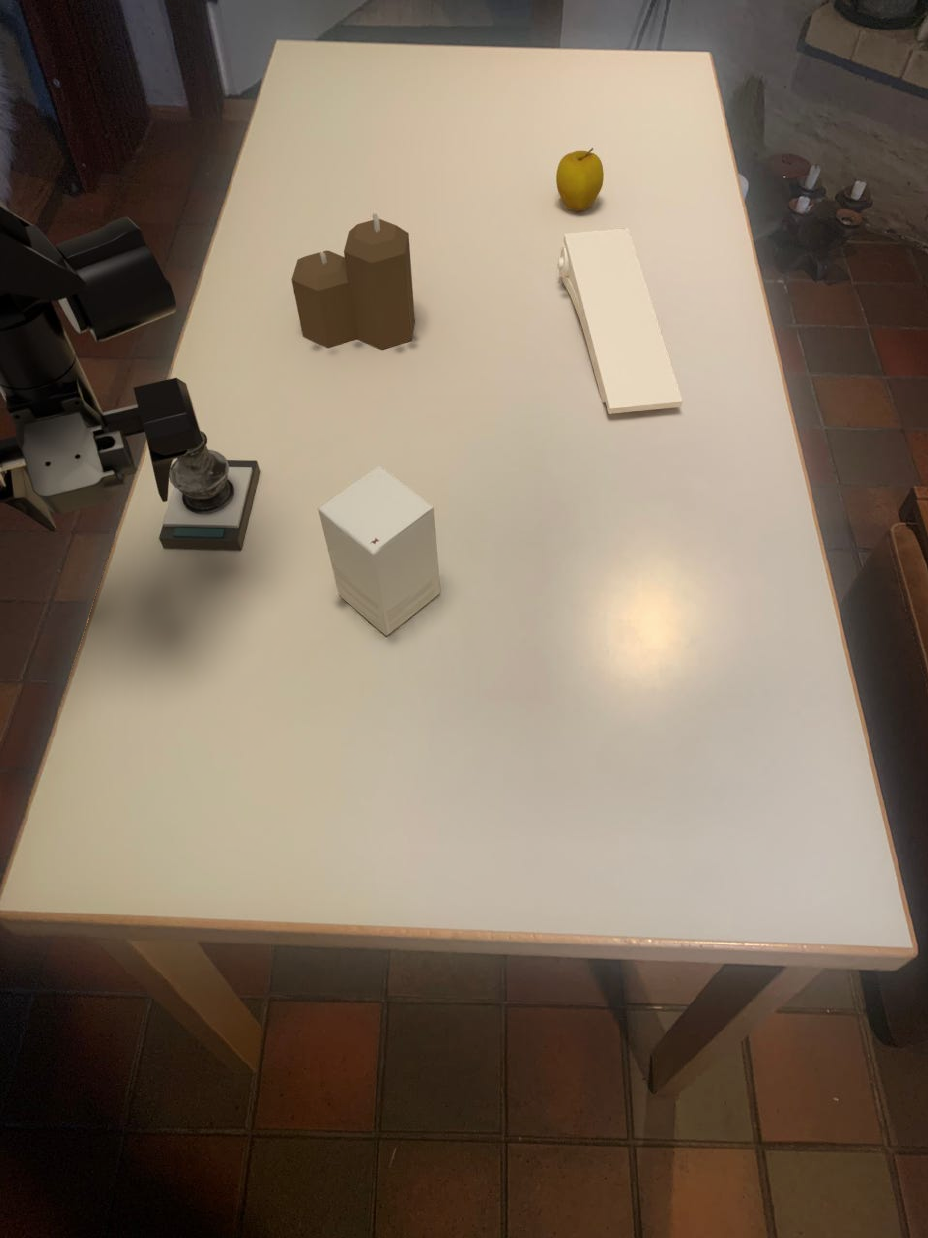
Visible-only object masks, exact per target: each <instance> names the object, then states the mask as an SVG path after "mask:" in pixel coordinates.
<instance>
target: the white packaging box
mask: <svg viewBox="0 0 928 1238" xmlns="http://www.w3.org/2000/svg"><path fill="white" fill-rule="evenodd" d="M317 510H318V515H319V520H320V523H321V527H322V532H323V535H324V539H325V544H326V548H327V552H328V556H329V561H330V564H331V568H332V572H333V577H334V581H335V584H336V585H335V586H336V590H337V594H338V595H339V596H340V597H341V598H342V599H343V600H344V601H345V602H346V603H348V604H349V605H350V606H351V607H352V608H353V609H354V610H355V611H357V612H358V613H359V614H360V615H361V616H362V617H363V618H364V619H366V620H367V621H368V622H369V623H370V624H371V625H373V626H374V627H375V628H376V629H377V630H378V631H379V632H381V633H382V634H383V635H384V636H386V637H388V636H389V635H390V634H392V632H394V631H395V630H397V629H398V628H399V627H400V626H401V625H402V624H404V623H405V622H407V620H409V619H410V618H412V617H413V616H414V615H415V614H417V613H418V612H419V611H420V610H421V609H423V608H424V607H425V606H426V605H428V604H429V603H430V602H431V601H433V600H434V599H435V598H436V597H437V596H438V595H440V593H441V585H440V572H439V571H440V570H439V560H438V559H439V558H438V546H437V545H438V544H437V533H436V532H437V531H436V520H435V517H436V516H435V506H434V505H433V504H431V503H430V502H429V501H428V500H426V499H425V498H424V497H422V496H420V495H419V494H418V493H416V492H415V491H414V490H412V488H410V487H409V486H407V485H406V484H405V483H403V482H402V481H401V480H400V479H398V478H397V477H395V476H394V475H393V474H392V473H391V472H389V471H388V470H387V469H385V468H384V467H383V466H381V465H378V466H376V467H375V468H373V469H372V470H371V471H369V472H368V473H366V474H365V475H363V476H361V478H359V479H358V480H356V481H355V482H353V483H352V484H351V485H349V486H348V487H346V488H345V489H343V490H342V491H340V492H339V493H338V494H336V495H335V496H332V498H330V499H329V500H327V501H325V502H324V503H322V504H321V505H320V506H318V507H317Z"/></svg>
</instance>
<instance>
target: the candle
mask: <svg viewBox="0 0 928 1238" xmlns="http://www.w3.org/2000/svg"><path fill="white" fill-rule="evenodd" d="M290 281H291V285H292V290H293V295H294V300H295V304H296V309H297V314H298V319H299V323H300V328H301V334H302V337H303V338H305V339H307V340H309V341H311V342H314V343H316V344H318V345H321V346H323V347H325V348H326V349H330V348H332V347H336V346H339V345H343V344H345V343H348V342H351V341H355V340H359V341H360V342H363V343H365V344H367V345H370V346H371V347H373V348H376V349H379V350H381V351H383V350H386V349H390V348H393V347H396V346H399V345H402V344H405V343H409V342H411V341H412V340H413V333H414V327H415V322H416V321H415V320H416V319H415V303H414V302H415V301H414V289H413V276H412V262H411V248H410V235H409V232H407V231H406V230H405V229H403V228H402V227H400V226H398V225H397V224H394V223H391V222H389V221H386V220H384V219H381V218H379V215H378V214H377V212H373V213H372V219H371V220H367V221H363V222H360V223H357V224H355V226H354V227H352V228H351V229H350V230H348V234H347V238H346V242H345V246H344V250H343V255H340V254H338V253H335V252H333V251H330V250H323V251H322V250H319V252H316V253H312V254H308V255H305V256H302V257H300V258H298V259H297V260H296V263H295V266H294V269H293V273H292V276H291V279H290Z"/></svg>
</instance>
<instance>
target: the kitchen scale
mask: <svg viewBox="0 0 928 1238" xmlns="http://www.w3.org/2000/svg"><path fill="white" fill-rule="evenodd" d="M227 461H228V464H229V471H228V477H227V479H228V480H229V481H230V482H231V483H232V485H233V488H234V496H233V498H232V500H231V502H230V503H229V504H228V505H227V506H226V507H224V508H223V509H221V510H219V511H217V512H214V513H211V514H197V513H194V512H191V511H190V510H188V509H187V508H186V507H185V505H184V504H183V501H182V494H183V493H182V492H180V491H179V490H178V489H177V488H175V487H174V486H173V490H172V493H171V496H170V499H169V503H168V505H167V509H166V511H165V515H164V519H163V522H162V527H161V530H160V533H159V537H158V541H159V542H160V544H161V546H162V548H163V549H182V550H185V549H186V550H190V549H191V550H220V551H222V550H223V551H224V550H225V551H242V549H243V545H244V540H245V536H246V532H247V528H248V523H249V519H250V515H251V511H252V507H253V503H254V499H255V494H256V490H257V487H258V481H259V478H260V473H261V468H260V466H259V462H258V460H252V459H251V460H250V459H249V460H247V459H246V460H245V459H244V460H243V459H227Z"/></svg>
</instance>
